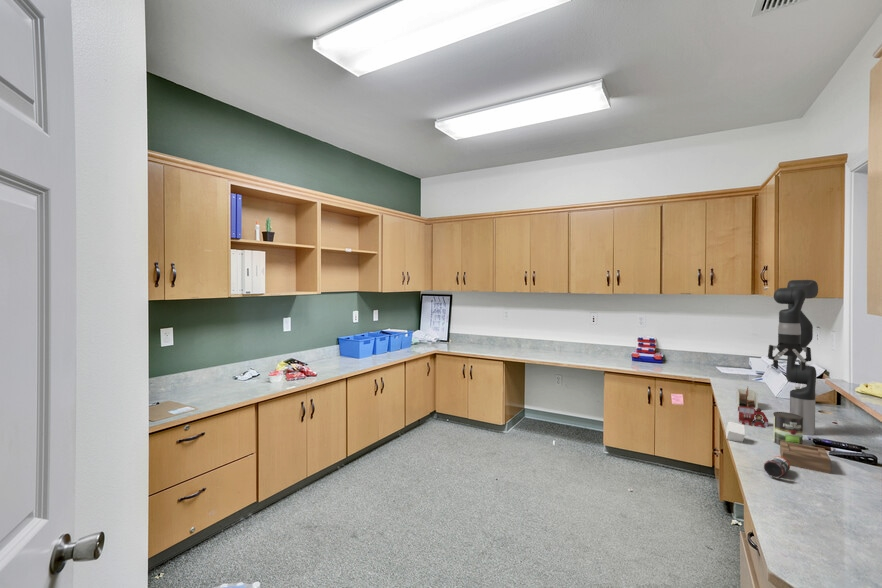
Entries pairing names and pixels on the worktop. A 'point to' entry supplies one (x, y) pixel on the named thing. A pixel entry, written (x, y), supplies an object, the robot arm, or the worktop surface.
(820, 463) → the walnut block
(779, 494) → the worktop surface
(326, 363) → the worktop surface
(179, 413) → the worktop surface
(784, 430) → the coffee can
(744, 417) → the toy fire truck
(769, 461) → the supplement bottle
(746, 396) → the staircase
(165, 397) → the worktop surface
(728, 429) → the white cube
